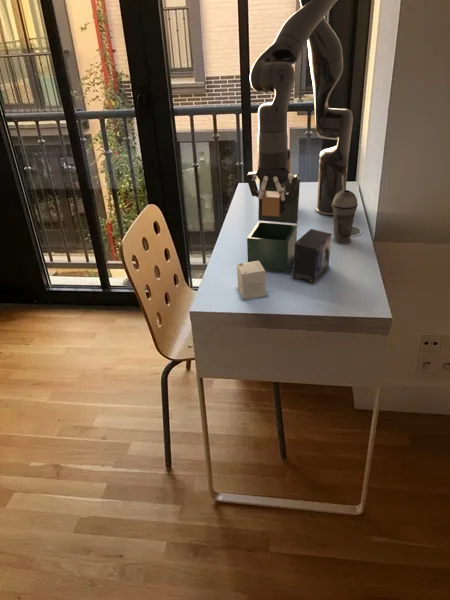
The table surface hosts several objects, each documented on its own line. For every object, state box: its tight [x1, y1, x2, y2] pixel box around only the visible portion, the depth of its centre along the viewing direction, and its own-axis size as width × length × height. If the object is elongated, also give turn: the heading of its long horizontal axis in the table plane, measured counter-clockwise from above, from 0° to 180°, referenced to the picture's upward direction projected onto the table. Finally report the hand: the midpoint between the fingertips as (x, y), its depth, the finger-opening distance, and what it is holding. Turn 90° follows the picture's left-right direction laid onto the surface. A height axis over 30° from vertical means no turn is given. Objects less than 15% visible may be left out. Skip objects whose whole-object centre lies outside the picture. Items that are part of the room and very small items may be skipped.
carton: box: [262, 191, 281, 216], centre depth 135 cm, size 5×5×5 cm
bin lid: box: [257, 177, 301, 225], centre depth 141 cm, size 12×11×1 cm
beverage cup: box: [332, 176, 359, 245], centre depth 148 cm, size 7×7×20 cm
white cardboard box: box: [236, 261, 267, 300], centre depth 128 cm, size 6×6×7 cm
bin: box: [246, 221, 298, 274], centre depth 142 cm, size 12×11×9 cm
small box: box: [292, 228, 332, 284], centre depth 134 cm, size 11×6×10 cm, turn 148°
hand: (272, 211), depth 136 cm, fingers closed on carton, 4 cm apart
